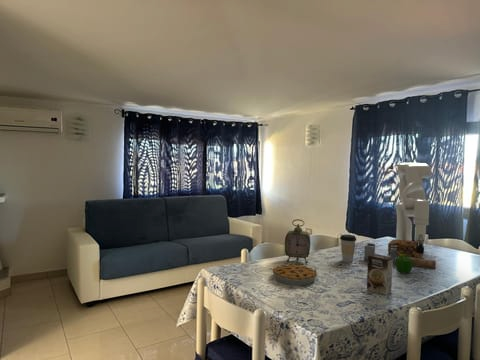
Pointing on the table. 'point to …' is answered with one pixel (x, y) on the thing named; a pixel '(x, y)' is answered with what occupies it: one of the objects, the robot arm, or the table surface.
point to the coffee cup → (347, 247)
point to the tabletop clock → (297, 243)
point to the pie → (294, 274)
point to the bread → (405, 248)
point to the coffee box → (379, 274)
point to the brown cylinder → (423, 262)
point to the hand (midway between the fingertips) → (419, 251)
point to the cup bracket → (368, 250)
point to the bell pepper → (404, 264)
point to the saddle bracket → (393, 254)
